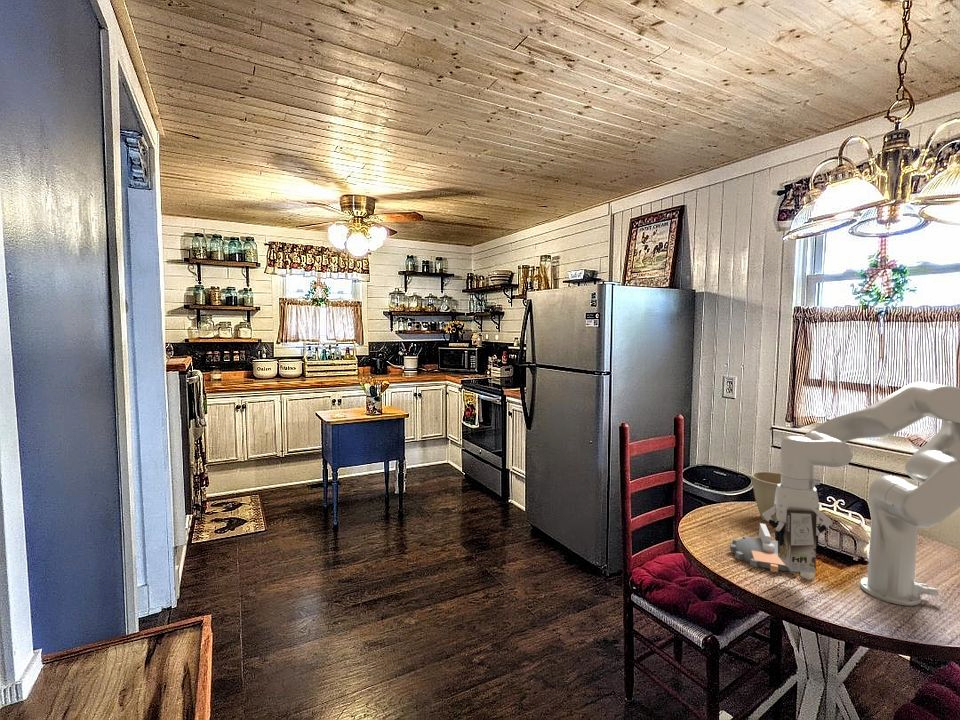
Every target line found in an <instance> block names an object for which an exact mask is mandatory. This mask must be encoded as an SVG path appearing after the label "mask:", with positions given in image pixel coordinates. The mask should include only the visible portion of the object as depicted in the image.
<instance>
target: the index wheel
mask: <svg viewBox="0 0 960 720" xmlns="http://www.w3.org/2000/svg"><path fill="white" fill-rule="evenodd" d="M758 534H759V535H758V537H750V536H749V535H746V536H742V539H738V538H733V539H732V543H729V545H730V546H729V549H730V552H732V553H733V552H734V553H735V554H734V555H735V558H736V559H738V560H744V561H746V562H749V565H750V566H752V567H755V568H757V567H761V568H766V569H769V570H770V572H773V573H774V572H775V573H778V572H779V571H783V572H784V571H785V572H786V571H787V572H789V573H790V574H797V573H798V571H790V569H789V568H788V567H787V566H786V565H785V564H784V563H783V562H782V560H781V559H780V558H779V557H778V541H776V540H772V536H771V534H770V531H769V529H768V527H767V524H766V523H761V522H759V533H758Z"/></svg>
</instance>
